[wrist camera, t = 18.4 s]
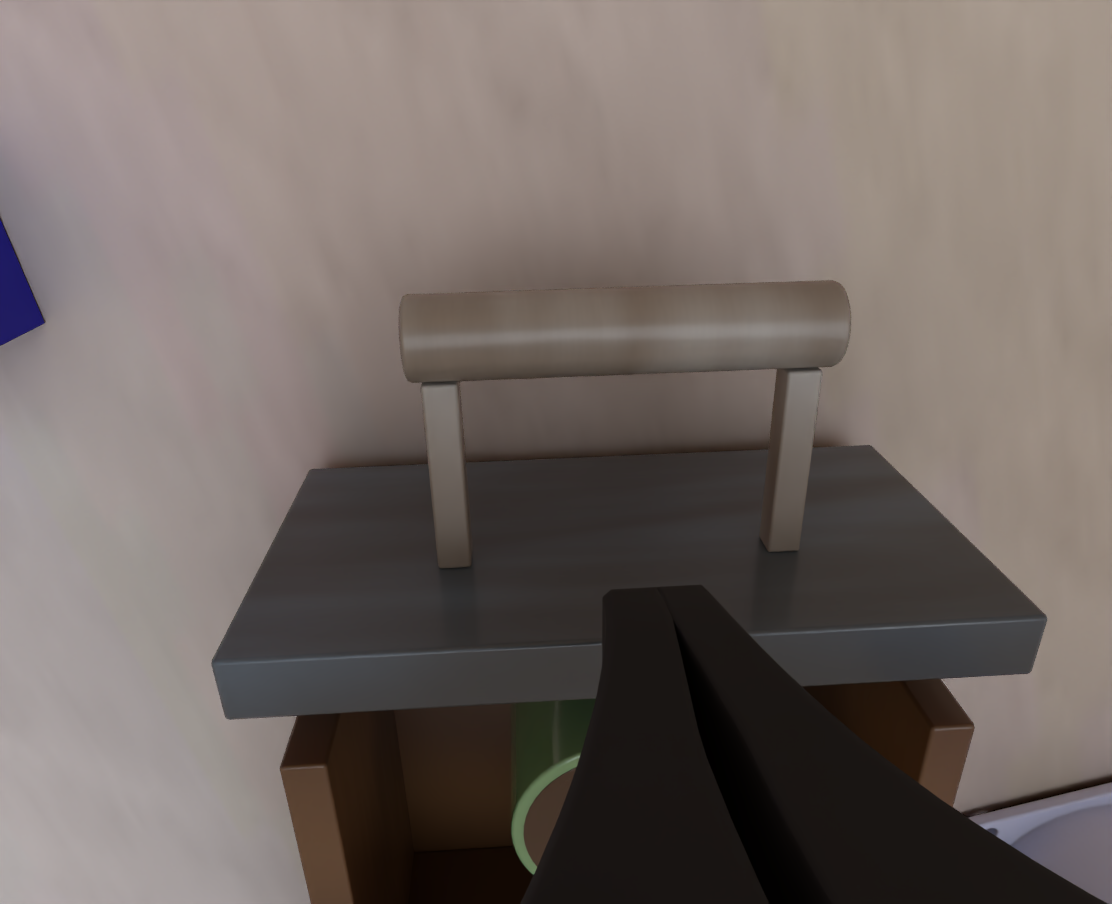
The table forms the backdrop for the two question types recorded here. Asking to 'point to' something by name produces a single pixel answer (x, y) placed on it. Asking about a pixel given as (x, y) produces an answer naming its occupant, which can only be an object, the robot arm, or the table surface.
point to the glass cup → (542, 769)
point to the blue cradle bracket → (14, 295)
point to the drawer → (589, 581)
